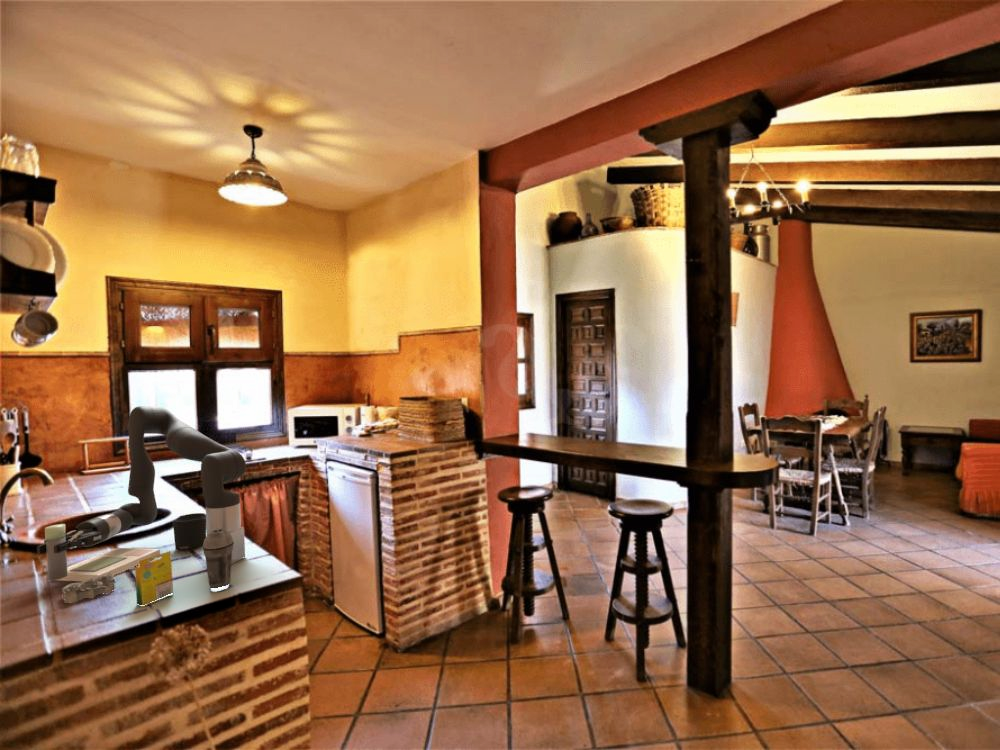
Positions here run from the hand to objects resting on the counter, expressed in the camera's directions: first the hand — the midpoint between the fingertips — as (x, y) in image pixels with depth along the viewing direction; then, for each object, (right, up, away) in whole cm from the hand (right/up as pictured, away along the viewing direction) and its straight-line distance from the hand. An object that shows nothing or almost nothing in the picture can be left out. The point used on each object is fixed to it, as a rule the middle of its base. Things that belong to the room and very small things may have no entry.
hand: (47, 549), depth 133 cm
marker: (0, -8, +3) cm, 9 cm away
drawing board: (+4, -11, +17) cm, 20 cm away
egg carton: (+13, -11, -2) cm, 18 cm away
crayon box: (+34, -11, -7) cm, 36 cm away
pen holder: (+19, -11, +32) cm, 39 cm away
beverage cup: (+47, -10, -1) cm, 48 cm away
